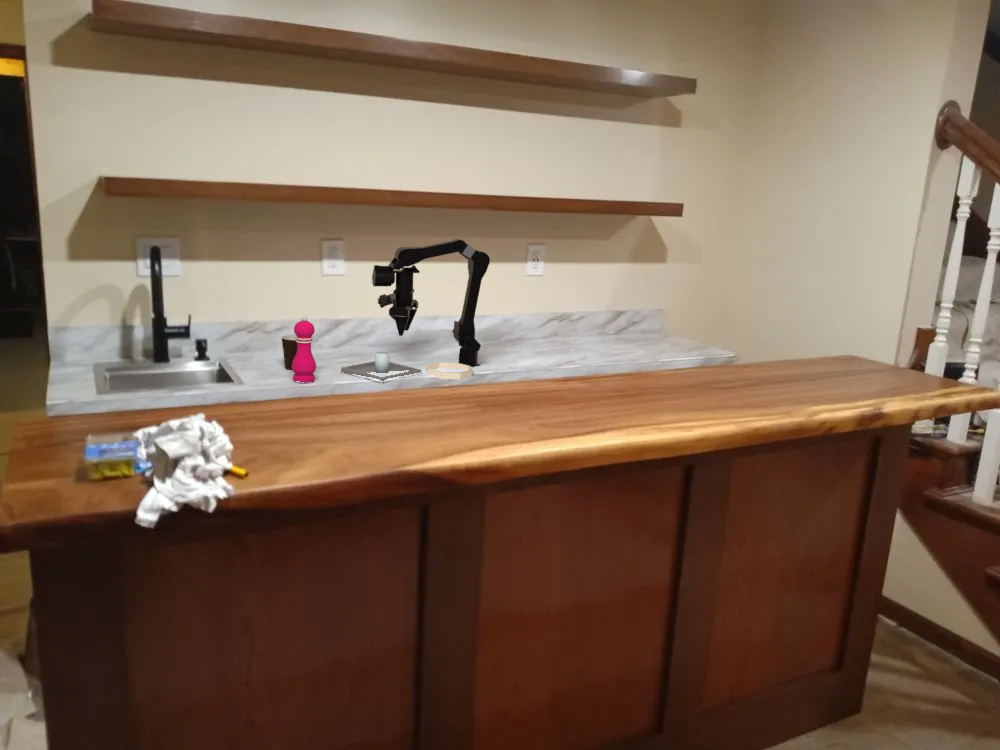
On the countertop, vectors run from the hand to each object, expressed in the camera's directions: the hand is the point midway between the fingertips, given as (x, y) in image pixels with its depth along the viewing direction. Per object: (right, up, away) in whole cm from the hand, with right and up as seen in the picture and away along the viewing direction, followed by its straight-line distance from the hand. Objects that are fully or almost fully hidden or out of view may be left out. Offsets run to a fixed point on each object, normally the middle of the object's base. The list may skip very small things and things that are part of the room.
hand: (403, 333), depth 263 cm
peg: (-6, -13, -8) cm, 16 cm away
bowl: (+15, -14, -4) cm, 21 cm away
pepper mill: (-27, -16, -23) cm, 39 cm away
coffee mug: (-34, -12, -7) cm, 36 cm away
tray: (-6, -13, -8) cm, 17 cm away
